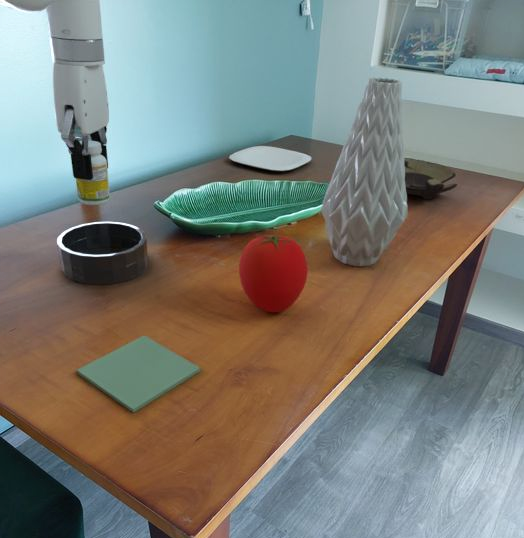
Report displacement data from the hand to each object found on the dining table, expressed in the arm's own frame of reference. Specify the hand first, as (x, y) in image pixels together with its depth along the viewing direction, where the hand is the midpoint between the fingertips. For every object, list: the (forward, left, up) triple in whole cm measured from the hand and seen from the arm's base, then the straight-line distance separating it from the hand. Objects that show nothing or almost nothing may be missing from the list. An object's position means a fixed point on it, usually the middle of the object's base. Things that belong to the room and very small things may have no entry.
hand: (91, 172), depth 90 cm
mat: (-17, -30, -17) cm, 39 cm away
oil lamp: (+85, -21, -18) cm, 90 cm away
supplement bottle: (0, 0, -5) cm, 5 cm away
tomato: (+10, -32, -18) cm, 38 cm away
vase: (+38, -32, -18) cm, 53 cm away
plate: (+77, +22, -18) cm, 82 cm away
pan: (0, 0, -17) cm, 17 cm away
